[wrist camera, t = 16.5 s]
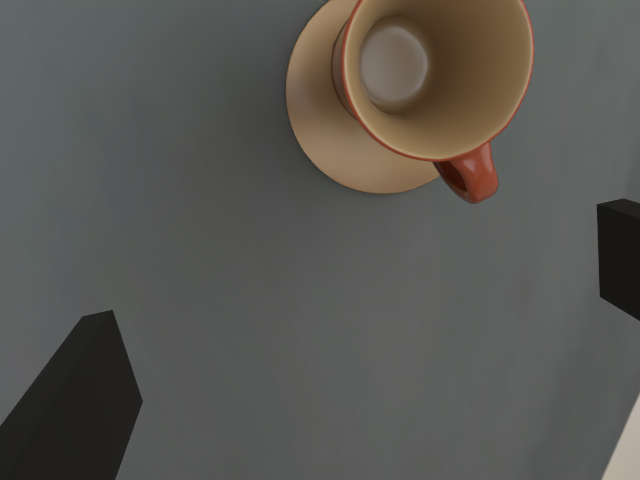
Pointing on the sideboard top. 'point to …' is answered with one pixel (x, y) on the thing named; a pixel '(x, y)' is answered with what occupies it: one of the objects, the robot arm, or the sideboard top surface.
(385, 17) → the mug
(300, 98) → the tan round disc
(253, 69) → the sideboard top surface
